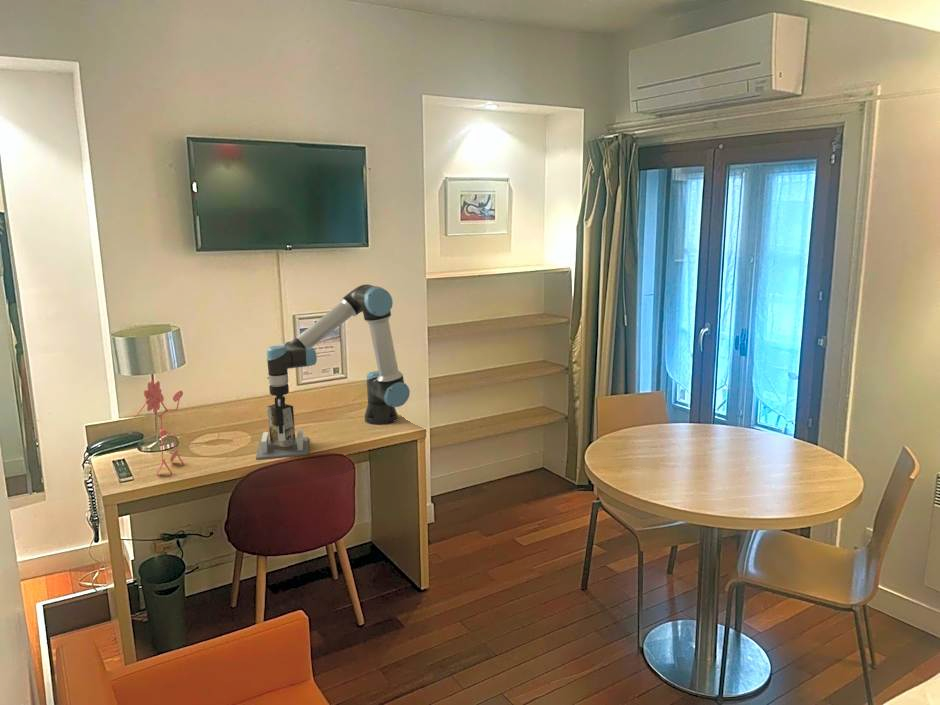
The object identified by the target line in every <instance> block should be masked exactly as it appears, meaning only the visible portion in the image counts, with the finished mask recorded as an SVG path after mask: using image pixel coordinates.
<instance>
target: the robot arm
mask: <svg viewBox="0 0 940 705" xmlns="http://www.w3.org/2000/svg"><path fill="white" fill-rule="evenodd" d="M393 305H394V304H393V297H392V295H391V293H390V292H389V291H387V290H386V289H385V288H383V287H381V286H378V285H377V286H375V285H372V284H361V285H358V286H357V287H356V288H354V289H353V290H351V291H349V292H348V293H347V294H346V295H344V297H342V298H341V299H340V302H339V303H338V304H337V305H336V306H334V307H333V308H332V309H331V310H329V311H328V312H327V313H326V314H324V315H323V316H322V317H321V318H319V319H318V320H317V321H315V322H314V323H313V324H311V325H310V326H309V327H308V328H307V329H304V331H303V332H300V334H299V335H298V336H296V337H295V338H294V339H292V340H290V341H286V342H284V343H283V344H281V345H271V346H268V348H267V349H266V361H267V370H268V371H267V372H268V373H267V374H268V376H267V377H266V379H268V384H269V394H270V395H271V396H275V397H274V404H275V408H276V413H277V424H275V426H277V429H278V441H285V428H284V418H283V409H284V404H286V396H285V395H287V394H289V392H290V388H289V386H290V385H289V371H288V369H289V370H290V369H297V368H305V367H307V368H309V367H311V366H315V365H316V364H317V361H318V360H317V351H316V350H315V348H314V347H315V346H316V345H317V344H318V343H320V342H321V341H322V340H324V339H325V338H326V337H327V336H329V335H330V334H331V333H332V332H333V331H335V330H336V329H338V328H339V327H340V326H341V325H342V324H344V323H345V322H346V321H347V320H349V319H350V318H351V317H356V316H357V315H359V314H361V313H362V315H363V319H364V321H365V322H366V323H368V325H369V332H370V335H371V336H370V337H371V340H372V345H373V350H374V356H375V360H376V365H377V370H374V371H370V372H368V373H367V374H366V390H367V392H366V393H367V405H366V410H365V413H364V422H365V423H368V424H371V425H385V424H384V423H387V424H390V423H389V422H391V423H393V422H392V421H394V420H396V419H397V420H398V411H397V409H396V408H398V407H399V408H400V407H402V406H403V405H405V404H406V403H407V401H408V400H409V398H410V393H411V390H410V387H409V386H408V385H407V383H405V380H404V376H403V373H402V372H401V371H400V370H399V367H398V362H397V356H396V351H395V348H394V341H393V336H392V332H391V326H390V322H389V320H390V318H391V316H392V313H391V309H392V308H393ZM397 420H396V421H397ZM279 422H282V423H279ZM394 422H395V421H394Z"/></svg>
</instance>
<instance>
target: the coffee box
mask: <svg viewBox="0 0 940 705" xmlns="http://www.w3.org/2000/svg"><path fill="white" fill-rule="evenodd" d="M294 413H295V412H294V406H293V405H292V404H287V403H285V404H284V409H283V418H284V428H285V441H278V429H277V426H275V424H277V413H276V408H275V403H273V404H271V405H267V418H268V429H269V440H270V443H272V444H275V445H278V446H282V447H286V446H289V445H292V444H295V438H296V431H295V414H294ZM279 423H282V422H279Z"/></svg>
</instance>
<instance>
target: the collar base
mask: <svg viewBox="0 0 940 705" xmlns="http://www.w3.org/2000/svg"><path fill="white" fill-rule="evenodd" d="M303 430H304V429H300V428H299V429H297V433H296V434H297V435H296V437H295V444H292V445H289V446H286V447H282V446H278V445H275V444H272V443H270V435H269V432H268V431H263V433H262V436H261V440H259V444H258V446H257V453H256V456H255V460H266V459H278V458H289V457H299V456H300V457H301V456H308V455H309V436H304V431H303Z"/></svg>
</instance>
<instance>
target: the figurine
mask: <svg viewBox="0 0 940 705" xmlns="http://www.w3.org/2000/svg"><path fill="white" fill-rule="evenodd" d="M143 395H144V398H145V402H144V403H143V404H142V406H141V407H140V408H139V410H138V411H137V412H136V414H135V415H134V418H136V417H137V416H138V415H139V414H140V413H141V412H142V410H143V409H144V408H145V406H147V408H146V410H147V411H148V412H151V411H153V414H156V415H157V417H158V418H159V420H160V430H159V432H158V434H159V435H160V440H161V462H160V464H159V466H158V469H157V470H156V472H155V473H156V474H157V475H158V474H159V473H160V470H161V469H162V467H163V465H165V466H166V468H167V470H168V471H169V473H170V474H171V473H172V474H173V471H172V470H171V469H170V467H169V466H168V464H167V463H166V461H165V459H166V458H165V457H164V446H163V445H164V444H163V442H164V441H163V437H165V436H167V434H169V435H173V440H174V441H173V443H174V451H173V453H172V455H171V456H170V458H169V461H170V462H171V463H173V461H174V460H175V459H176V458H178V459H179V461H180V462H181V464H182V465H185V463H184V461H183V460H182V457H181V456H180V455H179V449H176V433H172V432H168V431H167V430H166V429H165V428H163V418H162V417H163V416H164V415H165V414H166V413H168V412H175V411H178V410H179V409H178V408H179V405H180V400H181V398H182V397H183V395H184V392H183V390H179V391H177V392H176V393H175V394H174V395H173V396H172V400H173V401H174V403H176V402H177V403H176V408H175V409H173V408H172V409H168V408H167V407H166V406H165V404H164V400H165V398H164V395H163V393H162V388H161V382H160V381H159V380H157V381H155V380H153V379H151V380H150V382H147V390H144V391H143ZM161 405H162V406H163V408H164V410H163V412H161V414H159V412H158V411H159V410H160V409H161Z"/></svg>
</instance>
